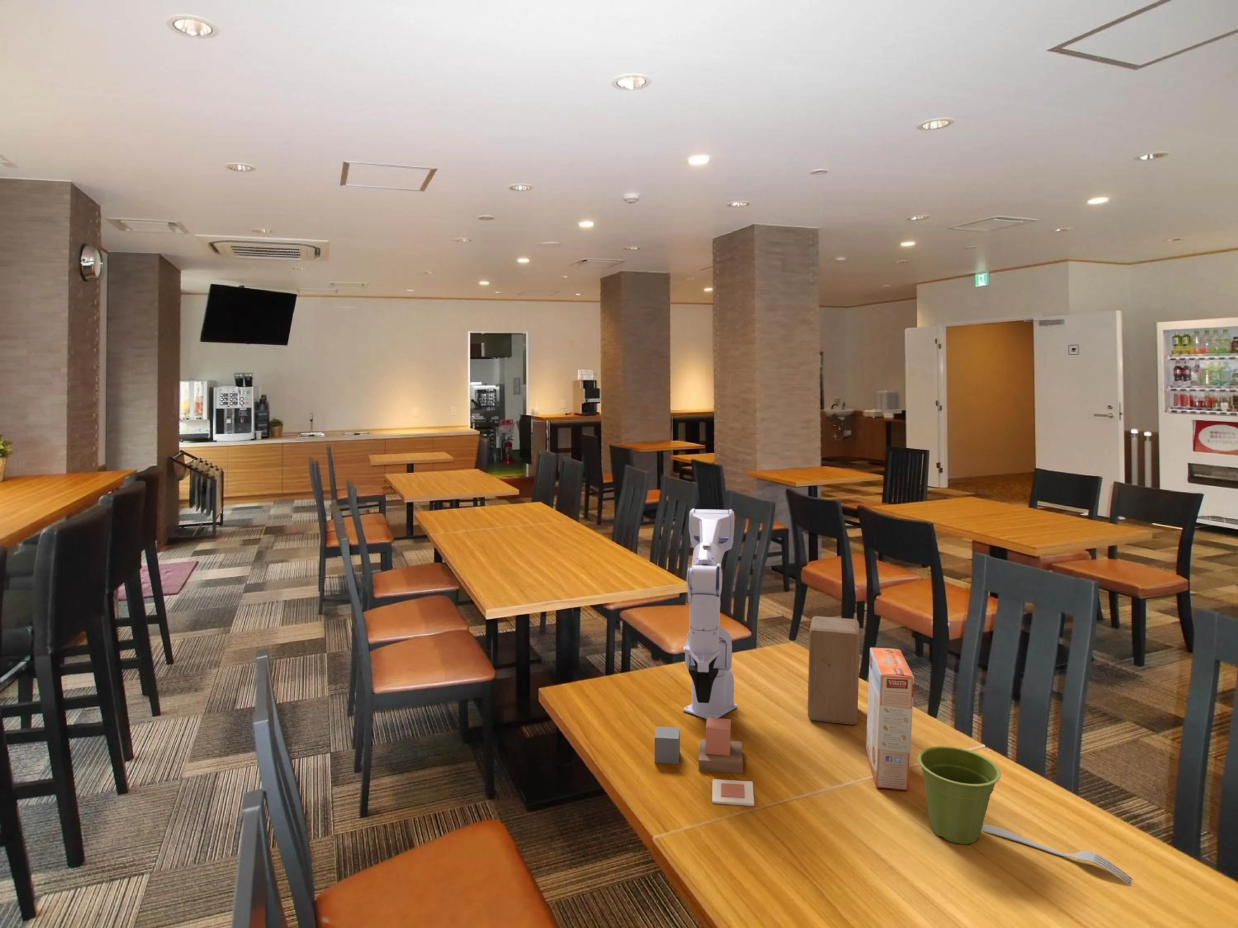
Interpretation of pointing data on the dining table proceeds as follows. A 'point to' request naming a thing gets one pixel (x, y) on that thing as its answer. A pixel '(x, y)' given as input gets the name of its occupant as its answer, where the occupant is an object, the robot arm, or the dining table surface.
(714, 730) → the brick red block
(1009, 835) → the fork
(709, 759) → the walnut base block
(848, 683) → the wooden block
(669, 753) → the charcoal block
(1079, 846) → the dining table surface
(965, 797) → the plant pot
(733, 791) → the card
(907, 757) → the cracker box
